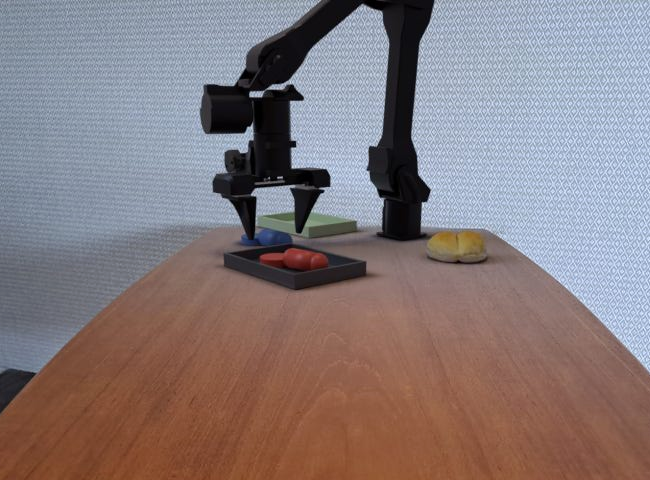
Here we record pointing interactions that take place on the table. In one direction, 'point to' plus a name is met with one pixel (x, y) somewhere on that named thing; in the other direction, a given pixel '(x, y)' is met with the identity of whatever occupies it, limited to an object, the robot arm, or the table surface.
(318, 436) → the table surface
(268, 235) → the blue elongated piece
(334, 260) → the front tray
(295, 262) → the red elongated piece
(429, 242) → the bread roll
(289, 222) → the back tray
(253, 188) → the robot arm
